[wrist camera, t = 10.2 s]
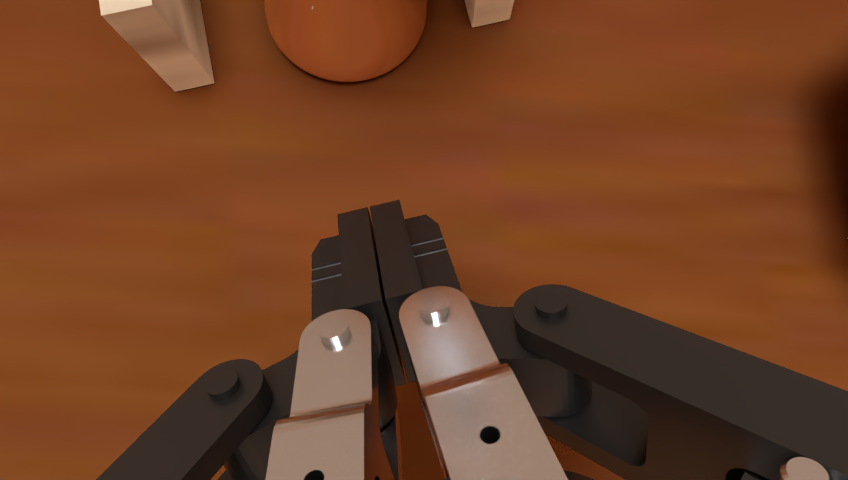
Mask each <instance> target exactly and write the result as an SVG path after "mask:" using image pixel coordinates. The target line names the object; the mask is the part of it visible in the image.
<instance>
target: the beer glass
mask: <svg viewBox="0 0 848 480" xmlns="http://www.w3.org/2000/svg"><path fill="white" fill-rule="evenodd" d="M264 8H265V16H266V20H267V24H268V27H269V30H270V33H271V35H272V37H273V39H274V41H275V43H276V44H277V46H278V47H279V49H280V50H281V51H282V52H283V53H284V55H285V56H286V57H287V58H288V59H289V60H290V61H291V62H293V63H294V64H295V65H296V66H298V67H299V68H301V69H302V70H304V71H306V72H308V73H310V74H312V75H314V76H317V77H319V78H323V79H326V80H331V81H337V82H357V81H364V80H368V79H372V78H375V77H378V76H381V75H383V74H385V73H387V72H389V71H391V70H392V69H394V68H395V67H397V66H398V65H399V64H401V63H402V62H403V61H404V60H405V59H406V58H407V57H408V56H409V55H410V53H411V52H412V51H413V50H414V48H415V46H416V45H417V43H418V41H419V39H420V37H421V35H422V33H423V30H424V26H425V22H426V14H427V1H426V0H264Z"/></svg>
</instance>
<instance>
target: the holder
mask: <svg viewBox="0 0 848 480" xmlns="http://www.w3.org/2000/svg"><path fill="white" fill-rule="evenodd" d="M464 1H465V5H466V8H467V12H468V16H469V19H470V23H471V27H472V28H473V27H477V26H482V25H487V24H491V23H496V22H500V21H505V20H510V16H511V12H512V8H513V4H514V0H464ZM99 3H100V10H101V16H102V17H103V18H104V19H105V20H106V21H107V22H108V23H109V24H110V25H111V26H112V27H113V28H114V29H115V30H116V31H117V32H118V33H119V34H120V35H121V36H122V38H123V39H124V40H125V41H126V42H127V43H128V44H129V45H130V46H131V47H132V48H133V49H134V50H135V51H136V52H137V53H138V54H139V55H140V56H141V57H142V58H143V59H144V60H145V61H146V62H147V63H148V64H149V65H150V66H151V67H152V68H153V69H154V70H155V72H156V73H157V74H158V75H159V76H160V77H161V78H162V79H163V80H164V81H165V82H166V83H167V84H168V85H169V86H170V87H171V88H172V89H173V90H174V91H175V92H177V91H182V90H186V89H191V88H195V87H200V86H205V85H209V84H214V77H213V71H212V66H211V60H210V54H209V49H208V43H207V37H206V31H205V26H204V20H203V14H202V9H201V3H200V0H99Z"/></svg>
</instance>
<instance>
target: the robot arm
mask: <svg viewBox="0 0 848 480" xmlns="http://www.w3.org/2000/svg"><path fill="white" fill-rule="evenodd" d="M370 211H371V217H372V221H371V217H370V213H369V210H368V208H362V209H358V210H354V211H350V212H346V213H341V214H338V229H339V235H338V236H334V237H330V238H325V239H321V240H320V242H319V243H318V245H317V247H316V248H315V250H314V251H313V253H312V282H313V283H312V322H311V323H310V324H309V325H308V326H307V327H306V328H305V330H304V331H303V333H302V335H301V338H300V343H299V349H298V350H297V351H296V352H295V353H293V354H292V355H291V356H289V357H288V358H286V359H284V360H282V361H280V362H278V363H276V364H274V365H272V366H270V367H268V368H266V369H264V370H262V369H261V368H260V366H259V365H258V364H256V363H255V362H253V361H250V360H245V359H237V360H231V361H227V362H224V363H221V364H219V365H217V366H215V367H213V368H211V369H210V370H208V371H207V372H205V373H204V374H203V375H202V376H201V377H199V378H198V379H197V380H196V381H195V382H194V383H193V384H192V385H191V386H190V387H189V388H188V389H187V390H186V391H185V392H184V393H183V394H182V395H181V396H180V397H179V398H178V399H177V400H176V401H175V402H174V403H173V404H172V405H171V406H170V407H169V408H168V409H167V410H166V411H165V412H164V413H163V414H162V415H161V416H160V417H159V418H158V419H157V420H156V421H155V422H154V423H153V424H152V425H151V426H150V427H149V428H148V429H147V430H146V431H145V432H144V433H143V434H142V435H141V436H140V437H139V438H138V439H137V440H136V441H135V442H134V443H133V444H132V445H131V446H130V447H129V448H128V449H127V450H126V451H125V452H124V453H123V454H122V455H121V456H120V457H119V458H118V459H117V460H116V461H115V462H114V463H113V464H112V465H111V466H109V467H108V468H107V469H106V470H105V471H104V472H103V473H102V474H101V475H100V476H99V477H98V478H97V479H96V480H211V478H212V477H213V476H214V475H215V474H216V473H217V471H218V470H219V469H220V468H221V467H222V466H223V465H224V467H225V468H226V471H225V472H224V473H223V474H222V475H221V477H220V478H219V479H218V480H403V468H402V452H401V436H400V421H399V415H398V411H397V396H396V390H395V386H397V385H402V384H406V383H405V377H404V372H403V366H402V361H401V357H402V360H403V364H404V368H405V371H406V375H407V378H408V382H413V381H416V383H417V387H418V391H419V394H420V398H421V402H422V406H423V409H424V413H425V416H426V420H427V423H428V426H429V429H430V433H431V436H432V439H433V443H434V446H435V449H436V452H437V456H438V459H439V462H440V465H441V469H442V472H443V475H444V479H443V480H593V479H591V478H589V477H586V476H583V475H580V474H577V473H573V472H569V471H565V470H563V469H562V467H561V465H560V463H559V461H558V459H557V457H556V455H555V453H554V451H553V449H552V447H551V445H550V443H549V441H548V439H547V437H546V435H545V434H547V435H549V436H550V437H552V438H554V439H556V440H557V441H559V442H561V443H563V444H564V445H566V446H568V447H570V448H571V449H573V450H575V451H577V452H578V453H580V454H582V455H584V456H585V457H587V458H589V459H590V460H592V461H594V462H596V463H597V464H599V465H601V466H603V467H604V468H606V469H608V470H610V471H611V472H613V473H615V474H617V475H618V476H620V477H622V478H624V479H625V480H848V391H845V390H843V389H840V388H837V387H835V386H832V385H829V384H827V383H824V382H821V381H819V380H816V379H813V378H811V377H808V376H805V375H803V374H800V373H797V372H795V371H792V370H789V369H787V368H784V367H781V366H779V365H776V364H773V363H771V362H768V361H765V360H763V359H760V358H757V357H755V356H752V355H749V354H747V353H744V352H741V351H739V350H736V349H733V348H731V347H728V346H725V345H723V344H720V343H717V342H715V341H712V340H709V339H707V338H704V337H701V336H699V335H696V334H693V333H691V332H688V331H685V330H683V329H680V328H677V327H675V326H672V325H669V324H667V323H664V322H661V321H659V320H656V319H653V318H651V317H648V316H645V315H643V314H640V313H637V312H635V311H632V310H629V309H627V308H624V307H621V306H619V305H616V304H613V303H611V302H608V301H605V300H603V299H600V298H597V297H595V296H592V295H589V294H587V293H584V292H581V291H579V290H576V289H573V288H571V287H567V286H563V285H542V286H538V287H534V288H532V289H530V290H528V291H526V292H524V293H523V294H522V295H521V296H520V297H519V298H518V299H517V300H516V302H515V304H514V307H490V306H484V305H481V304H478V303H475V302H473V301H472V300H470V299H469V298H468V297H467V296H466V295H465V294H464V293H463V292H462V290H461V288H460V285H459V282H458V279H457V276H456V273H455V271H454V268H453V265H452V262H451V259H450V256H449V253H448V251H447V248H446V245H445V242H444V239H443V236H442V234H441V231H440V228H439V225H438V223H436V222H435V221H434V220H432V219H431V218H429V217H428V216H427V215H422V216H417V217H413V218H409V219H405V220H404V216H403V212H402V208H401V205H400V201H399V200H396V201H392V202H387V203H383V204H379V205H375V206H370ZM372 223H373V224H372ZM400 353H401V355H400Z"/></svg>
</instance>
